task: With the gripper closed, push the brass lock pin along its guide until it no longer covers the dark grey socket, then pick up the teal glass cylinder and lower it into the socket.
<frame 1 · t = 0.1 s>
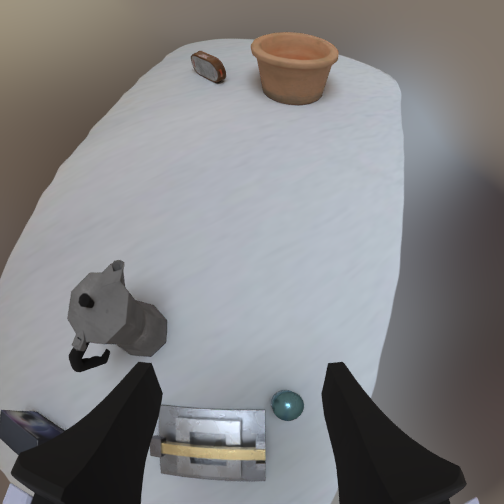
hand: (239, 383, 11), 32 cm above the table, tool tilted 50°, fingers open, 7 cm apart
pottery: (292, 89, 70), on the table
small box: (53, 435, 34), on the table
dock: (211, 444, 35), on the table
coffeepot: (140, 336, 43), on the table
teal glass cylinder: (284, 402, 38), on the table
tin: (209, 78, 74), on the table
lock pin: (207, 451, 31), point 5 cm above the table, slide at 0.0 cm
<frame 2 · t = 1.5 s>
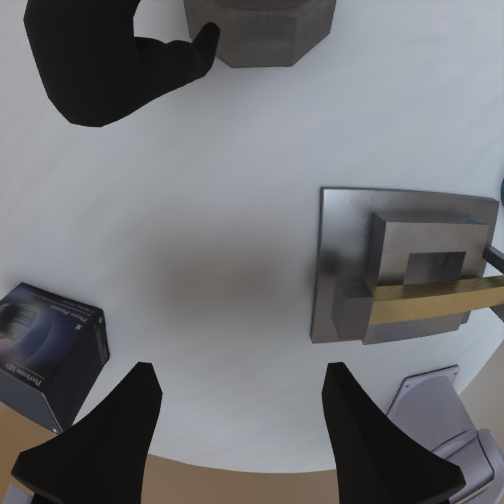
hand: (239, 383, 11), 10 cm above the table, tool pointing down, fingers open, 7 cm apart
small box: (63, 317, 23), on the table
dock: (413, 267, 20), on the table
coffeepot: (252, 24, 14), on the table
lock pin: (445, 298, 16), point 5 cm above the table, slide at 0.0 cm
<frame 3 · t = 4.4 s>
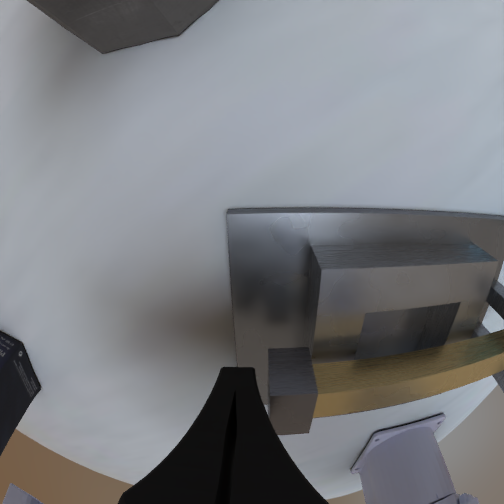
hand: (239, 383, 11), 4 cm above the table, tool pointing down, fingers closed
dock: (383, 316, 14), on the table
lock pin: (438, 370, 10), point 5 cm above the table, slide at 1.1 cm, touching gripper
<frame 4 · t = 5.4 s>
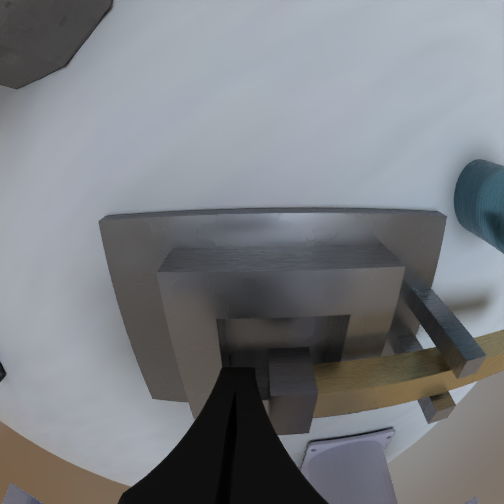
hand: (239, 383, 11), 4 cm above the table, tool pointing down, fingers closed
dock: (278, 323, 14), on the table
coffeepot: (42, 29, 8), on the table
teal glass cylinder: (479, 196, 11), on the table
lock pin: (438, 370, 10), point 5 cm above the table, slide at 7.0 cm, touching gripper
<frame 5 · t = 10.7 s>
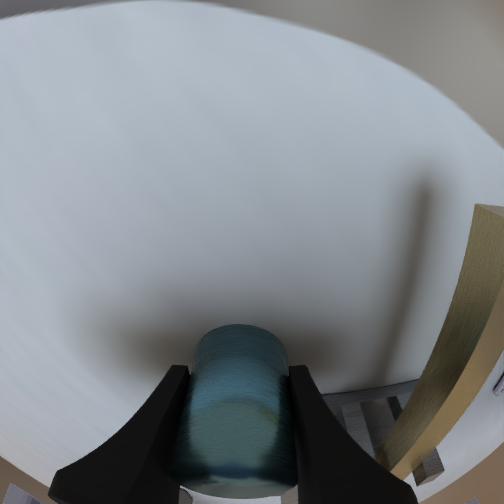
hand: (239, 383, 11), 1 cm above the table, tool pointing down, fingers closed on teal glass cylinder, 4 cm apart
dock: (344, 452, 16), on the table
teal glass cylinder: (240, 359, 12), on the table, touching gripper
lock pin: (426, 421, 8), point 5 cm above the table, slide at 11.0 cm
when the fingers open (3 cm above the table, at t = 14.5 s): teal glass cylinder stays where it is, resting on dock.
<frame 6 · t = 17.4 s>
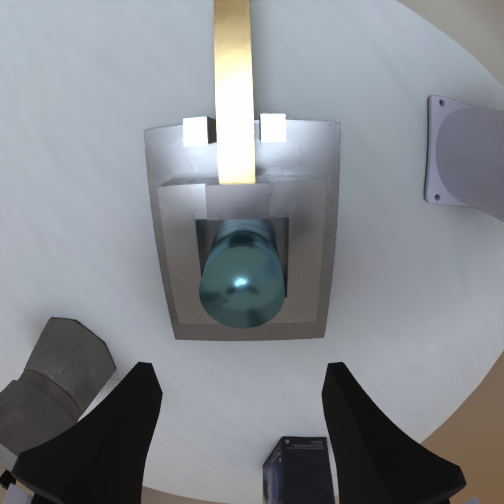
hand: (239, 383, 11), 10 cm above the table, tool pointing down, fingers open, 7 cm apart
small box: (291, 452, 32), on the table
dock: (245, 241, 20), on the table
coffeepot: (87, 353, 25), on the table
teal glass cylinder: (244, 243, 19), point 1 cm above the table, touching dock
lock pin: (234, 54, 11), point 5 cm above the table, slide at 11.0 cm
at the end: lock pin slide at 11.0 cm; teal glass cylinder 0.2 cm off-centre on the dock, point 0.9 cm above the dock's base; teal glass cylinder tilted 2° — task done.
